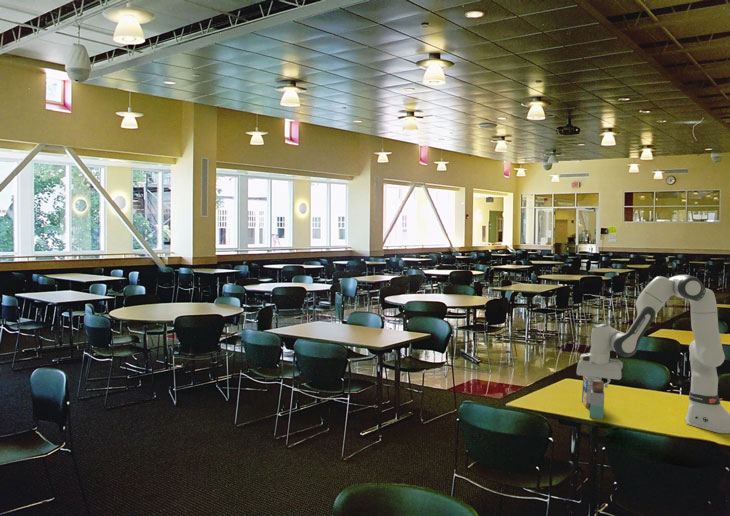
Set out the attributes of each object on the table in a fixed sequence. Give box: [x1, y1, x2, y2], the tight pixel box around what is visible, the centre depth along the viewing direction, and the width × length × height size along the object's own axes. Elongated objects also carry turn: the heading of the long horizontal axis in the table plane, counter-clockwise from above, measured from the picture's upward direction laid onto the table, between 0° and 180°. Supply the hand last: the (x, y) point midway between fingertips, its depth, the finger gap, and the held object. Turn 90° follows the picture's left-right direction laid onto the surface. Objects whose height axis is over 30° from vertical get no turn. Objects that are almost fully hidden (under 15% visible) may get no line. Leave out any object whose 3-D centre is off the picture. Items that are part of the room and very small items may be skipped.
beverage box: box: [581, 376, 603, 409], centre depth 316 cm, size 7×11×22 cm, turn 171°
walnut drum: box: [592, 380, 605, 394], centre depth 297 cm, size 5×5×5 cm
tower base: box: [589, 405, 605, 420], centre depth 297 cm, size 6×6×6 cm
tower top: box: [590, 390, 605, 407], centre depth 297 cm, size 6×6×6 cm
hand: (598, 386), depth 297 cm, fingers open, 6 cm apart
